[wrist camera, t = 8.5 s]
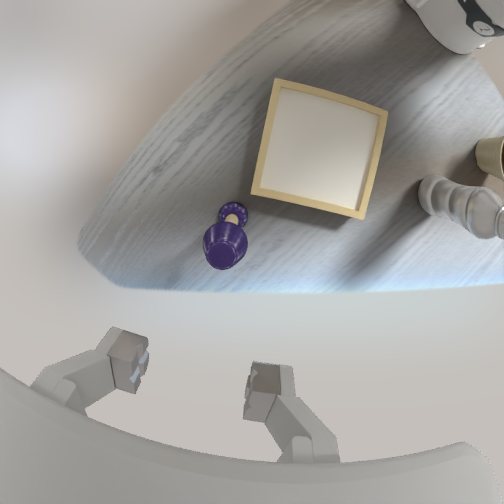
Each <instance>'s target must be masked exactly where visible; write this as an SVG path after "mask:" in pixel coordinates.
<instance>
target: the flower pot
mask: <svg viewBox="0 0 504 504" xmlns="http://www.w3.org/2000/svg"><path fill="white" fill-rule="evenodd" d="M475 156H476V159H477V164H478V166H479V168H480V169H481V170H482V171H484V172H487V173H489V174H491V175H493V176H495V177H497V178H499V179H501V180H503V181H504V136H502V137H496V138H488V139H482V140H480V141H479V142H478V143H477V145H476V150H475Z"/></svg>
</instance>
